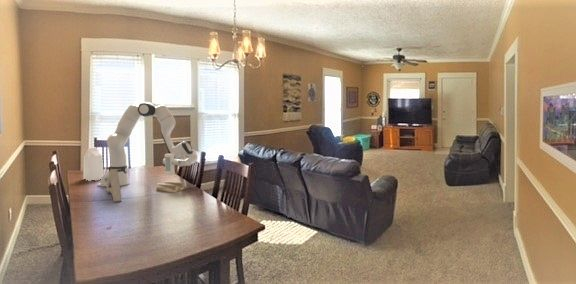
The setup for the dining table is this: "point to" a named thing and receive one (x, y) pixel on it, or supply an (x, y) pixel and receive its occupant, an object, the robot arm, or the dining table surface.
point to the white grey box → (169, 164)
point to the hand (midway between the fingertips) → (168, 163)
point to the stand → (170, 186)
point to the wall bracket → (114, 185)
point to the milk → (93, 165)
